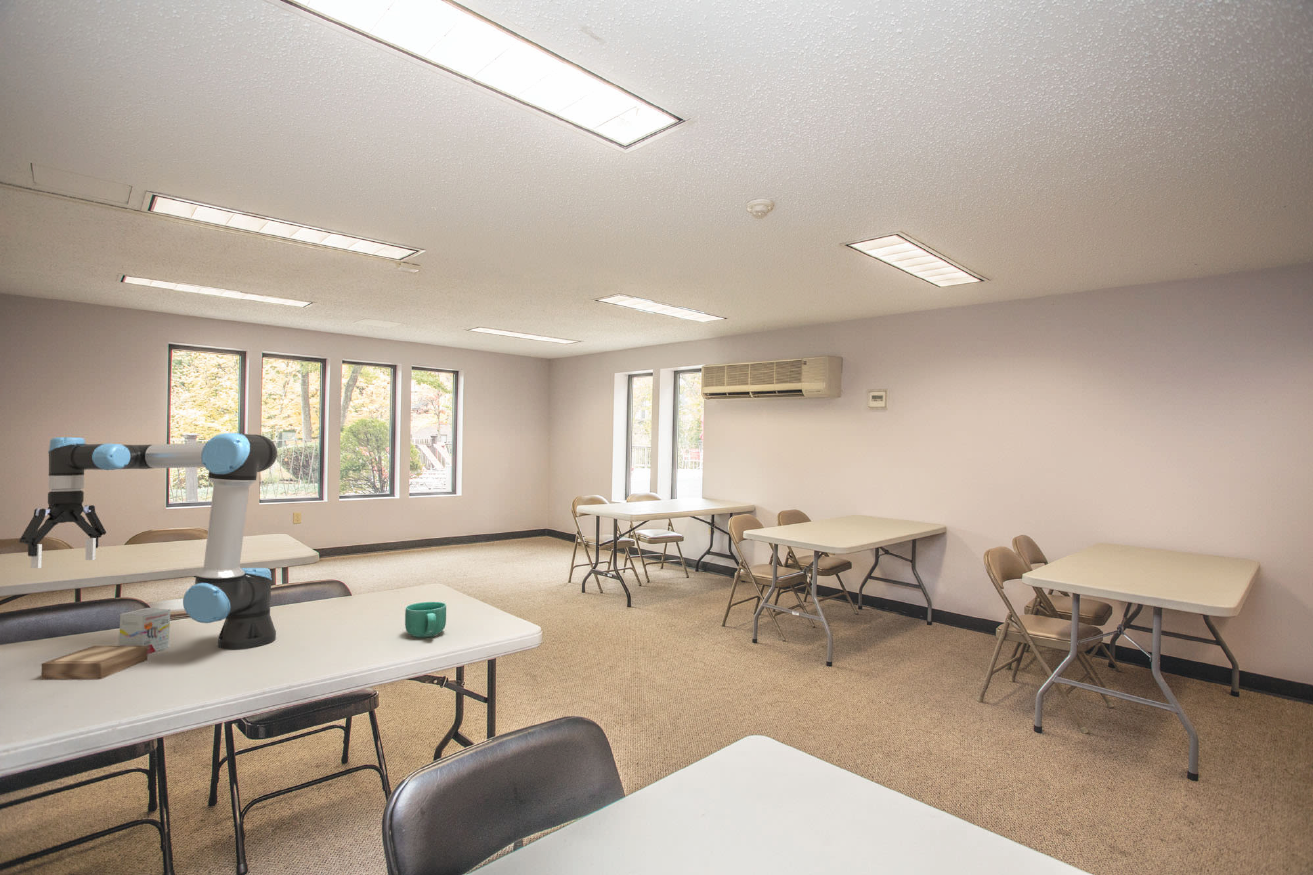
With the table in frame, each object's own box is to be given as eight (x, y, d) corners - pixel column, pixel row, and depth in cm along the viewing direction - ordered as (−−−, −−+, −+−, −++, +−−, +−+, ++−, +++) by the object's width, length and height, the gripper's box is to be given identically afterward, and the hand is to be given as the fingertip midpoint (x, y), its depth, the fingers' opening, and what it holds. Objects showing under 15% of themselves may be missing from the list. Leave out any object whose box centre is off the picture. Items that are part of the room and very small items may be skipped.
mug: (403, 632, 203) (404, 603, 203) (443, 628, 208) (444, 600, 209) (406, 646, 188) (407, 615, 188) (449, 641, 193) (450, 611, 194)
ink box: (141, 656, 177) (142, 615, 177) (117, 654, 178) (118, 613, 179) (170, 647, 185) (171, 607, 186) (147, 645, 187) (148, 606, 187)
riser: (147, 659, 173) (147, 645, 174) (100, 678, 158) (101, 662, 159) (92, 660, 173) (93, 645, 173) (41, 679, 158) (41, 663, 158)
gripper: (102, 488, 191) (101, 556, 191) (2, 492, 167) (0, 571, 166) (121, 488, 190) (120, 557, 189) (23, 492, 165) (21, 571, 165)
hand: (64, 563), depth 178 cm, fingers open, 13 cm apart
